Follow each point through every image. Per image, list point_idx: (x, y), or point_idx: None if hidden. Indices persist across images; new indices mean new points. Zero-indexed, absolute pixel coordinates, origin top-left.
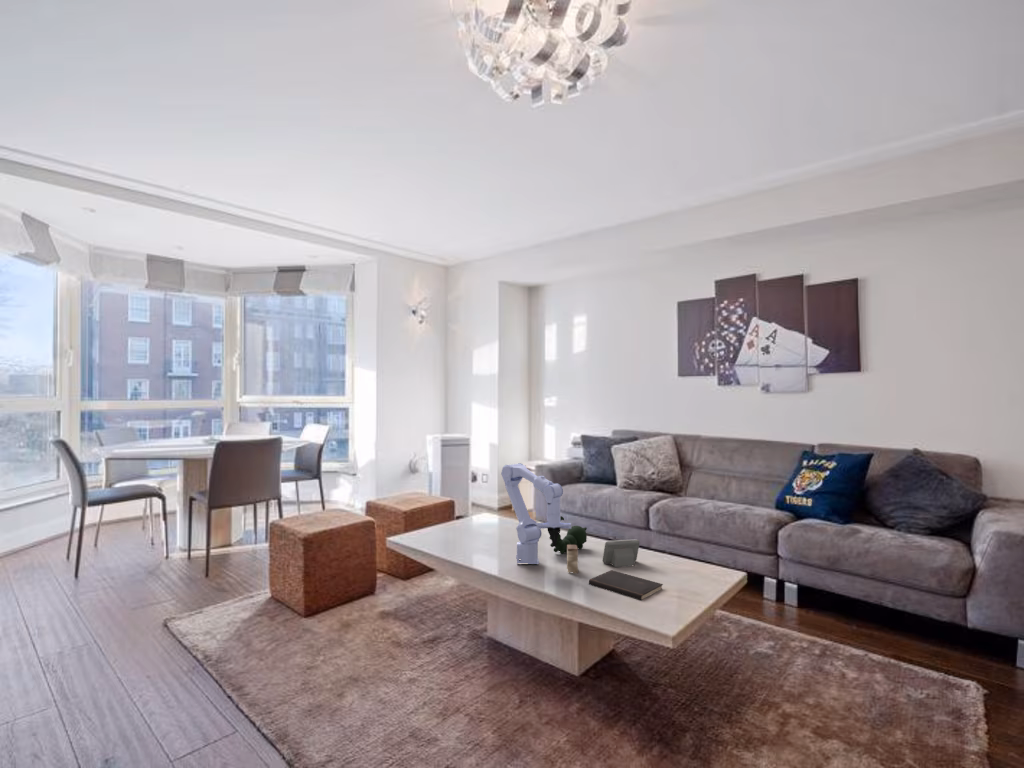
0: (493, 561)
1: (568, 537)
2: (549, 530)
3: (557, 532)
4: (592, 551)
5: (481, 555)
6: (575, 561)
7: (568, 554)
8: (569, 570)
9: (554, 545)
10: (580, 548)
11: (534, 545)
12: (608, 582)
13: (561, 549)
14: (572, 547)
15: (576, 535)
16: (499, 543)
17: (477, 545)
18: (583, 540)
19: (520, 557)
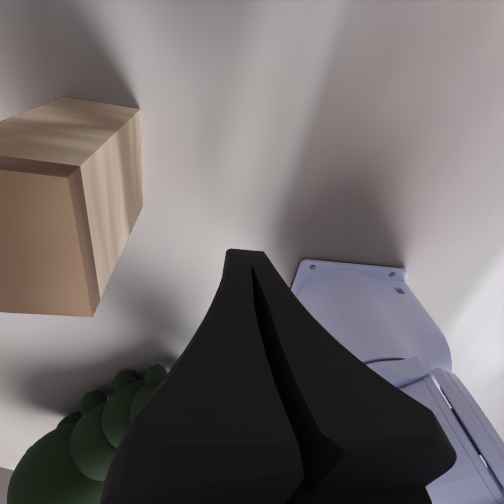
0: (478, 312)
1: (107, 461)
2: (419, 468)
3: (206, 409)
4: (14, 396)
5: (480, 363)
6: (38, 120)
7: (88, 153)
8: (124, 111)
9: (246, 253)
10: (72, 414)
11: (354, 355)
12: None
13: (157, 385)
14: (10, 229)
15: (59, 476)
16: None
17: None
18: (34, 448)
19: (402, 299)
